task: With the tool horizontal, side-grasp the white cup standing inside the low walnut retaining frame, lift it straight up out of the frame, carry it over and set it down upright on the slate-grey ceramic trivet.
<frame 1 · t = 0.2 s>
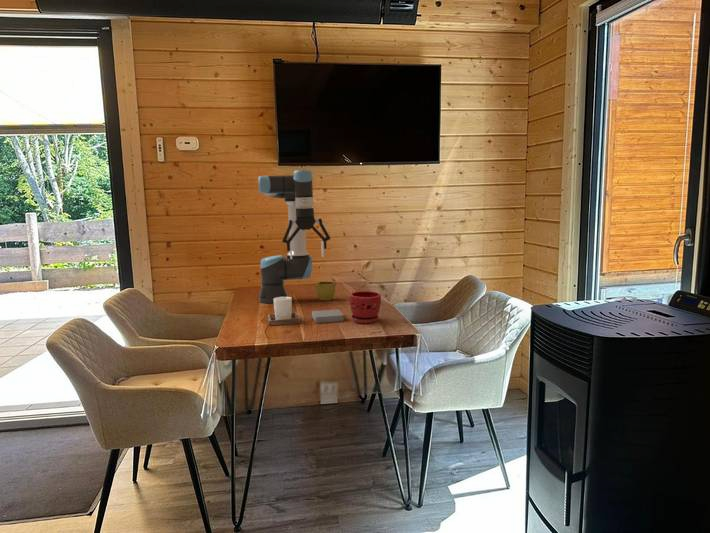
hand: (307, 257, 205), 27 cm above the table, tool pointing down, fingers open, 13 cm apart
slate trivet: (327, 318, 210), on the table
walnut frame: (283, 320, 208), on the table
plant pot: (365, 321, 205), on the table
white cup: (283, 321, 208), resting in walnut frame
flower pot: (326, 300, 252), on the table
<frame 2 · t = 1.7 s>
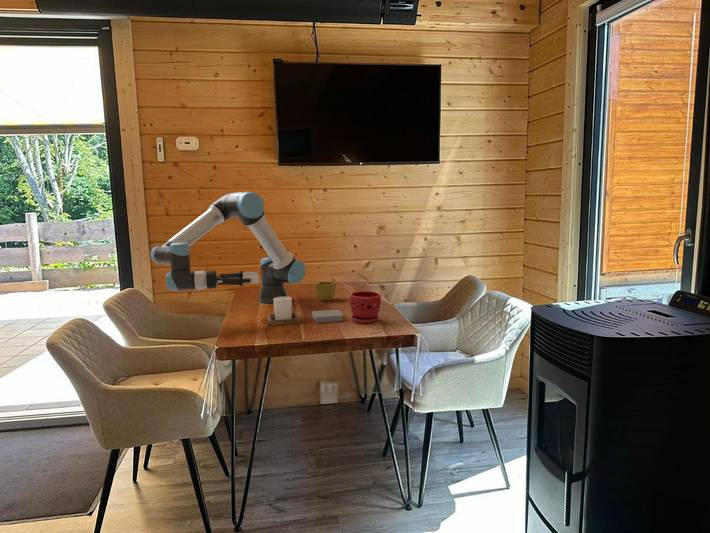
hand: (258, 277, 203), 20 cm above the table, tool horizontal, fingers open, 13 cm apart
nothing on the table moved.
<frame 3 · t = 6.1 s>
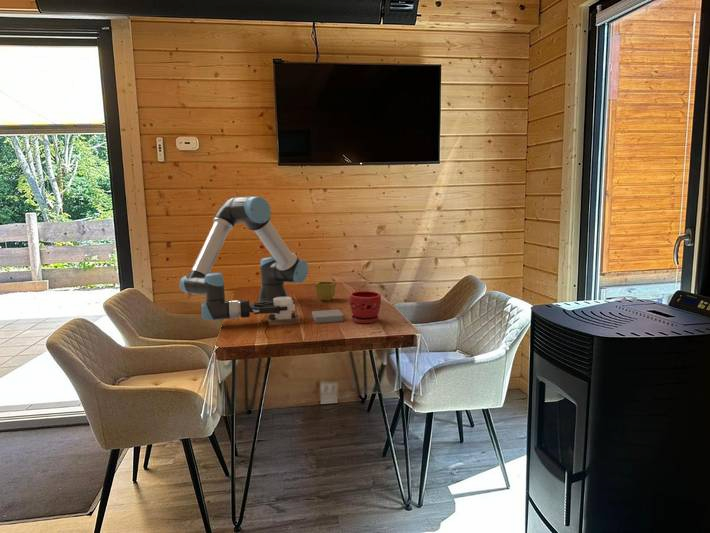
hand: (294, 305, 208), 7 cm above the table, tool horizontal, fingers closed on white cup, 7 cm apart
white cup: (283, 321, 208), resting in walnut frame, touching gripper
everything else where it was.
when the fingers open (10 cm above the table, at t = 11.2 s): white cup stays where it is, resting on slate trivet.
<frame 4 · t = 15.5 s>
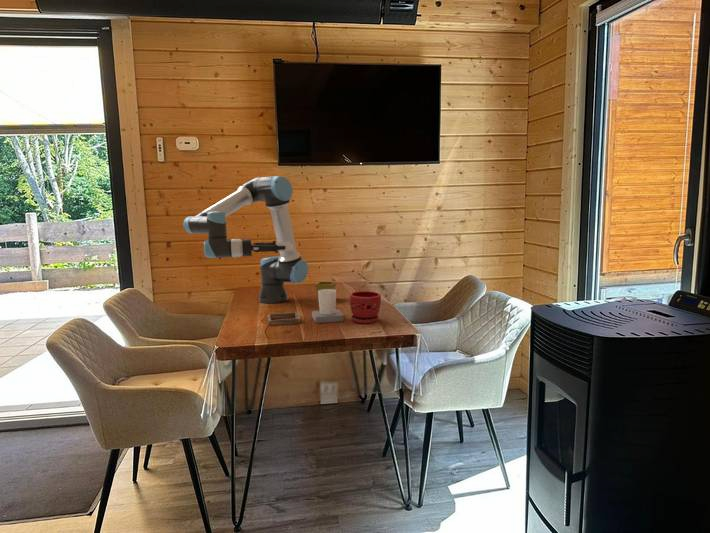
hand: (291, 245, 210), 32 cm above the table, tool horizontal, fingers open, 13 cm apart
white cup: (327, 313, 210), point 2 cm above the table, touching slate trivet
everything else where it was.
at the end: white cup inside the target area on the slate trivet (0.1 cm from its centre), point 2.3 cm above the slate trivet's base; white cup tilted 0°; the gripper is holding nothing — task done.
